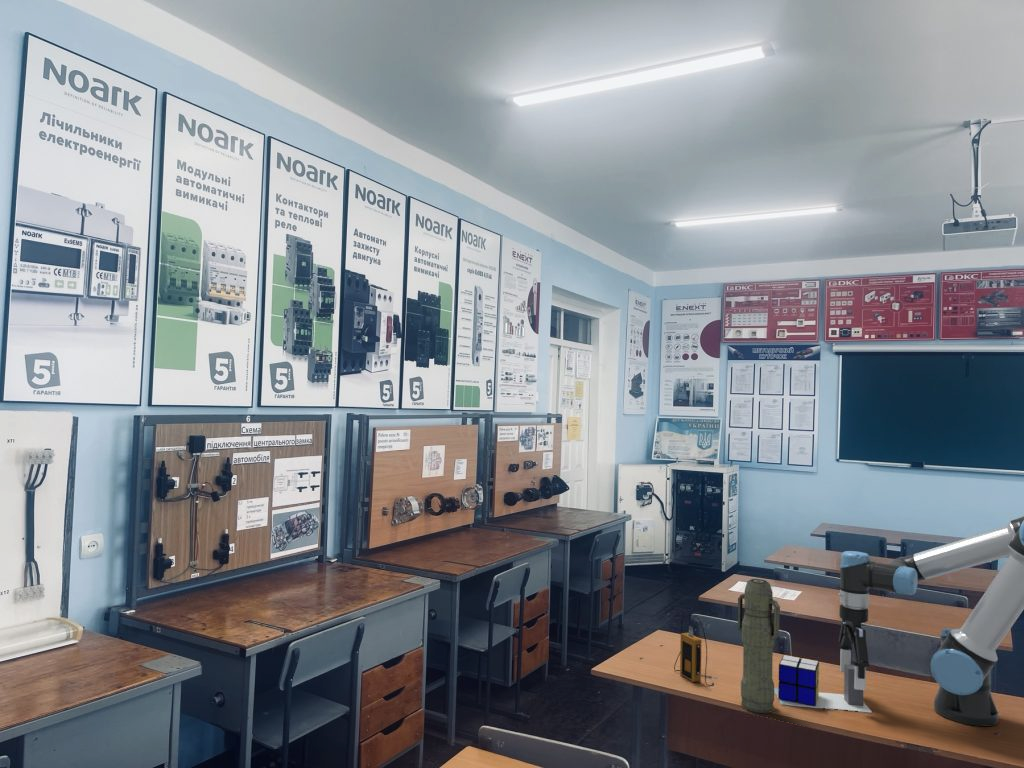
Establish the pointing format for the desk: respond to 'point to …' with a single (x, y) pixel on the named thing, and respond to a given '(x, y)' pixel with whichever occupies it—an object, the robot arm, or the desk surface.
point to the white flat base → (838, 696)
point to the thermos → (758, 645)
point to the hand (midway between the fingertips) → (852, 680)
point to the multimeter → (691, 655)
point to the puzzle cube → (798, 680)
